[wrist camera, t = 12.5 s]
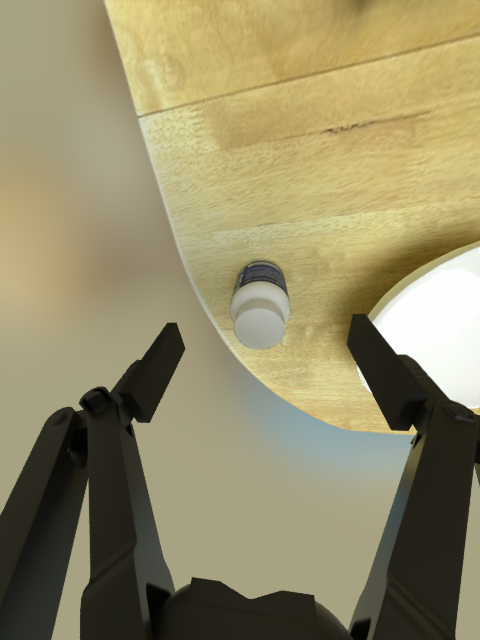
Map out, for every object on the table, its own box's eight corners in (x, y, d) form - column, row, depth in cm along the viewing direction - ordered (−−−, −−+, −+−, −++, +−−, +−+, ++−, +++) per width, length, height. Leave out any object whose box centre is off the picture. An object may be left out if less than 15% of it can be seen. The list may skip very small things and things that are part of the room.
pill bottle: (235, 258, 23) (220, 300, 14) (285, 256, 22) (298, 298, 14) (239, 301, 26) (228, 356, 17) (283, 301, 25) (292, 357, 17)
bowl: (554, 160, 16) (715, 147, 10) (534, 335, 24) (617, 381, 19) (311, 279, 23) (328, 310, 17) (360, 382, 31) (382, 426, 26)
